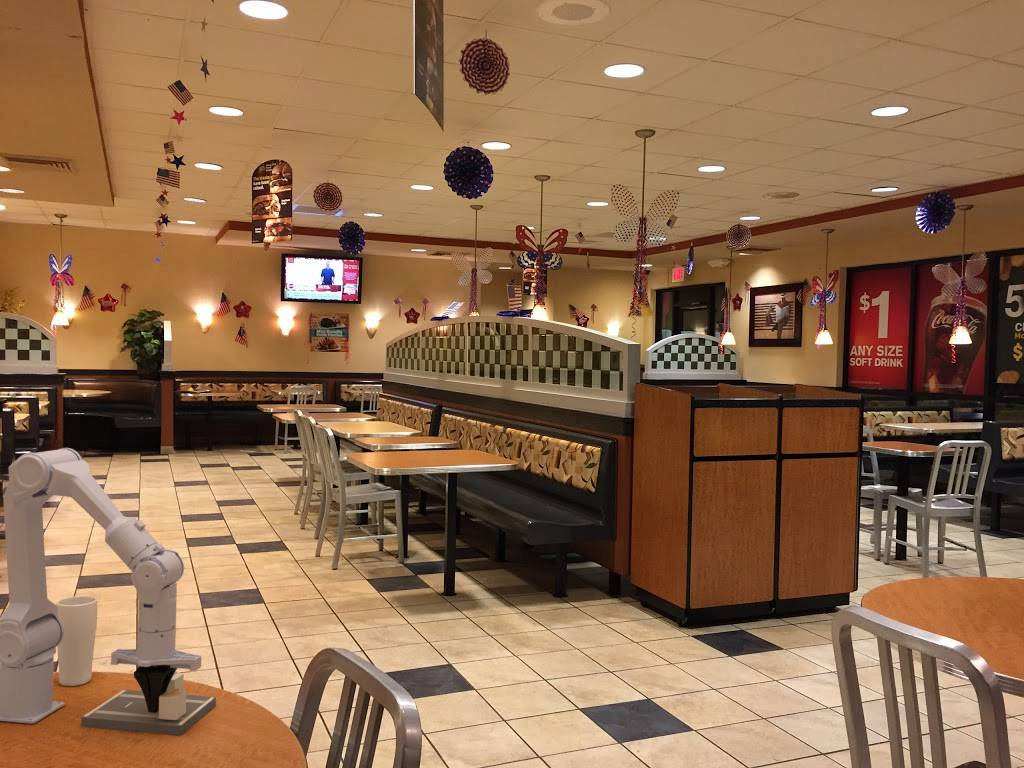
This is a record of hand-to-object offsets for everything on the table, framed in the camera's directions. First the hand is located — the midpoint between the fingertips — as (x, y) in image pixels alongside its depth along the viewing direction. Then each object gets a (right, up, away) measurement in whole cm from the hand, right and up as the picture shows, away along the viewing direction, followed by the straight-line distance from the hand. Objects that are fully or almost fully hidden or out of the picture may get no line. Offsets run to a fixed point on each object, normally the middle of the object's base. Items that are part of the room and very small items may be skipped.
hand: (155, 710), depth 139 cm
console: (-2, -2, +4) cm, 5 cm away
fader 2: (+3, -1, 0) cm, 3 cm away
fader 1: (0, -1, +7) cm, 7 cm away
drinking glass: (-22, -2, +17) cm, 28 cm away
